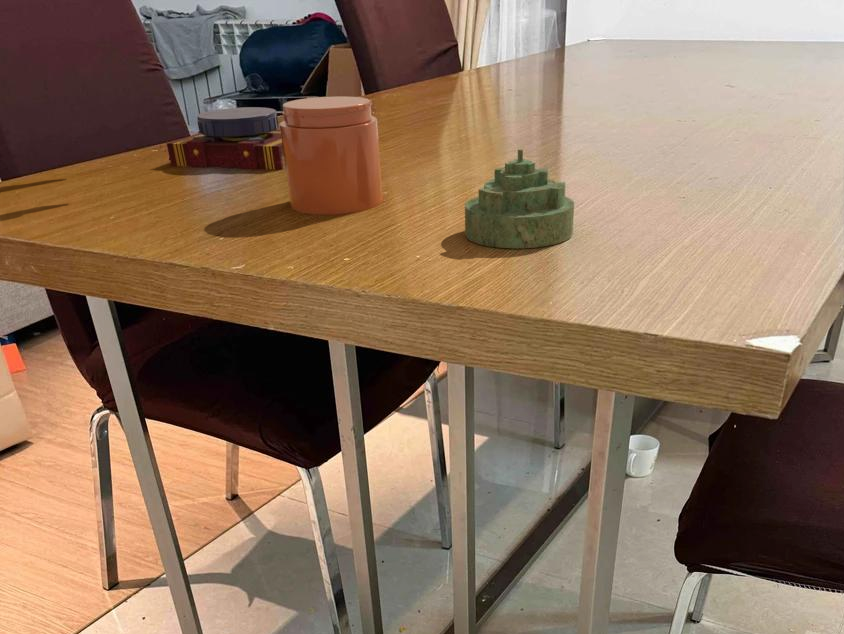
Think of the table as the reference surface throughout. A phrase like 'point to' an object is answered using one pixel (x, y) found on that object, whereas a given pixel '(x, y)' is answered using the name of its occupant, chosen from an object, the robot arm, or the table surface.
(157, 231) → the table surface
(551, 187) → the decorative artifact
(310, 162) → the jar
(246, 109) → the lid
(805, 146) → the table surface
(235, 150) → the decorative book
